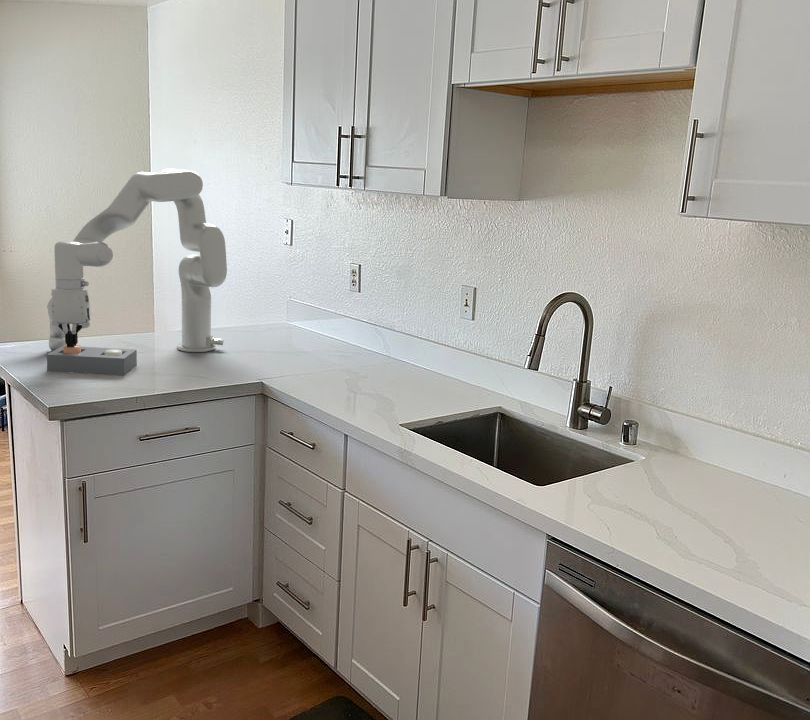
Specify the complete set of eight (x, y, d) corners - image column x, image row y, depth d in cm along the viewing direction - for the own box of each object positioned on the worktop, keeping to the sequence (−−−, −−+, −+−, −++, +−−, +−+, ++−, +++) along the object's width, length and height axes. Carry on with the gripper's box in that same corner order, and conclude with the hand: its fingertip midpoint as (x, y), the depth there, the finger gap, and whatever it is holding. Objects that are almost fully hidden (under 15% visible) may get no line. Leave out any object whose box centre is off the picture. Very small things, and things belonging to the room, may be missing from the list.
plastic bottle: (75, 350, 255) (73, 288, 251) (64, 354, 249) (61, 291, 244) (56, 348, 256) (53, 287, 251) (44, 352, 249) (42, 290, 245)
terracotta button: (83, 361, 237) (83, 345, 235) (77, 365, 232) (77, 348, 231) (67, 360, 236) (66, 344, 235) (61, 364, 232) (60, 347, 231)
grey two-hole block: (136, 365, 241) (136, 349, 240) (124, 375, 229) (124, 358, 228) (63, 361, 240) (62, 345, 239) (47, 371, 228) (46, 354, 227)
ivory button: (124, 366, 237) (124, 349, 236) (119, 370, 233) (118, 353, 231) (108, 365, 237) (107, 349, 236) (102, 369, 232) (102, 352, 231)
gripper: (100, 284, 233) (101, 345, 237) (48, 281, 232) (51, 342, 236) (91, 287, 225) (92, 350, 230) (38, 284, 225) (40, 347, 229)
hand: (71, 346), depth 233 cm, fingers closed
